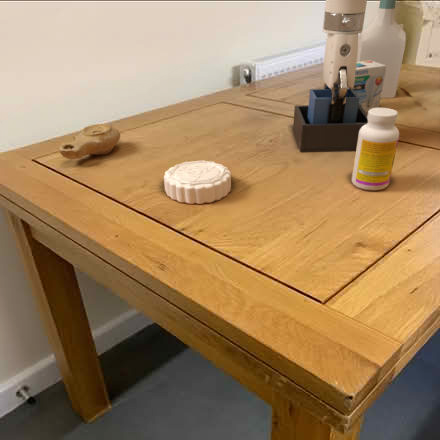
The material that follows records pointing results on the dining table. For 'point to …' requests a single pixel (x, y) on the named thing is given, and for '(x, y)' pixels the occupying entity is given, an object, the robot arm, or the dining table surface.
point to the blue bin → (320, 106)
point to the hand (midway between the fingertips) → (331, 116)
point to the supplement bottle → (376, 150)
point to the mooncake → (197, 182)
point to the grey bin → (326, 132)
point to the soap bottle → (384, 46)
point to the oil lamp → (91, 141)
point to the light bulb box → (369, 83)
